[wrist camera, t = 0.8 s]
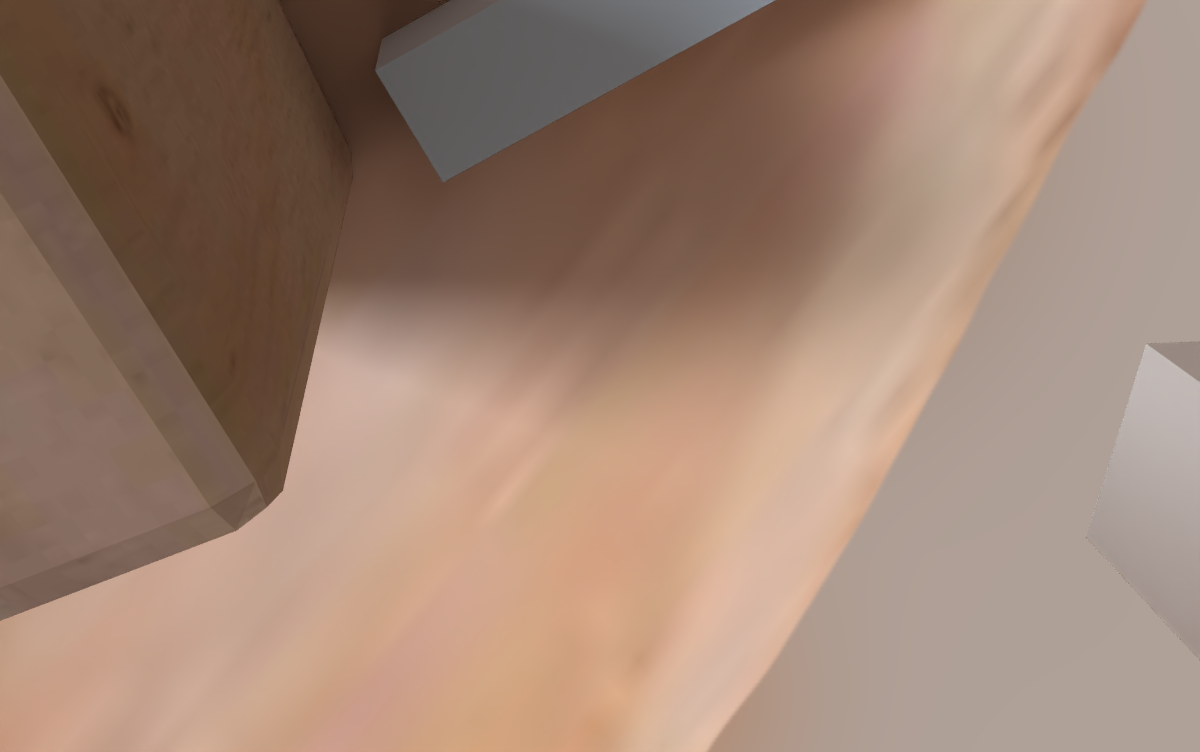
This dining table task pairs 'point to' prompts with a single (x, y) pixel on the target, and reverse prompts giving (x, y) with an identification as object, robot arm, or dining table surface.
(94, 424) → the wooden block
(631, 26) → the bar
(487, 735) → the dining table surface
